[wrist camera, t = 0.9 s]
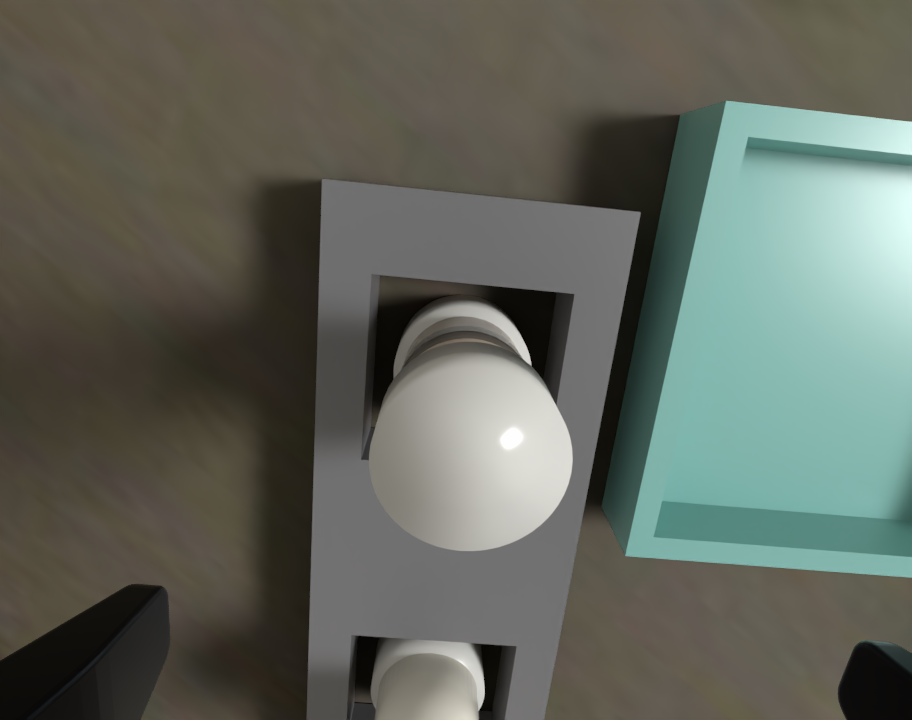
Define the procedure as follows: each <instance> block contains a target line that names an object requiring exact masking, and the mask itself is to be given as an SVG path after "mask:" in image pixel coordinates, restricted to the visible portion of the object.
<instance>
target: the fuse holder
mask: <svg viewBox="0 0 912 720" xmlns="http://www.w3.org/2000/svg"><path fill="white" fill-rule="evenodd" d="M640 215H641V212H636V211H629V210H621V209H614V208H604V207H595V206H585V205H575V204H566V203H556V202H547V201H537V200H528V199H518V198H508V197H499V196H489V195H480V194H470V193H461V192H451V191H442V190H432V189H422V188H413V187H403V186H394V185H384V184H375V183H365V182H355V181H346V180H334V179H322V195H321V230H320V265H319V300H318V335H317V370H316V406H315V441H314V476H313V511H312V546H311V581H310V616H309V651H308V686H307V720H375V713H376V709H375V707H374V705H373V704H364V703H354V697H355V681H356V664H357V648H358V636H372V637H387V638H402V639H417V640H431V641H446V642H461V643H476V644H491V645H502V649H501V655H500V662H499V668H498V674H497V681H496V687H495V694H494V700H493V707H492V711H478V713H479V720H544V717H545V712H546V706H547V701H548V696H549V691H550V685H551V680H552V675H553V670H554V665H555V659H556V654H557V649H558V644H559V638H560V633H561V628H562V623H563V617H564V612H565V607H566V602H567V597H568V591H569V586H570V581H571V576H572V570H573V565H574V560H575V555H576V549H577V544H578V539H579V534H580V529H581V523H582V518H583V513H584V508H585V502H586V497H587V492H588V487H589V481H590V476H591V471H592V466H593V460H594V455H595V450H596V445H597V440H598V434H599V429H600V424H601V419H602V413H603V408H604V403H605V398H606V392H607V387H608V382H609V377H610V372H611V366H612V361H613V356H614V351H615V345H616V340H617V335H618V330H619V324H620V319H621V314H622V309H623V304H624V298H625V293H626V288H627V283H628V277H629V272H630V267H631V262H632V256H633V251H634V246H635V241H636V236H637V230H638V225H639V220H640ZM380 275H385V276H395V277H405V278H416V279H426V280H436V281H447V282H457V283H467V284H477V285H488V286H498V287H508V288H519V289H529V290H539V291H550V292H557V293H556V299H555V306H554V312H553V319H552V325H551V332H550V338H549V344H548V351H547V357H546V364H545V370H544V377H543V381H544V382H545V384H546V386H547V388H548V390H549V392H550V394H551V396H552V398H553V400H554V402H555V404H556V406H557V408H558V410H559V412H560V414H561V416H562V418H563V420H564V422H565V424H566V426H567V429H568V432H569V435H570V439H571V445H572V455H573V463H572V472H571V476H570V480H569V484H568V487H567V489H566V491H565V494H564V496H563V498H562V500H561V501H560V503H559V505H558V506H557V508H556V509H555V510H554V512H553V513H552V514H551V515H550V516H549V517H548V518H547V519H546V520H545V521H544V522H543V524H541V525H540V526H539V527H538V528H536V529H535V530H534V531H533V532H531V533H529V534H528V535H526V536H524V537H523V538H521V539H519V540H517V541H515V542H512V543H510V544H507V545H504V546H501V547H498V548H493V549H488V550H481V551H457V550H449V549H445V548H441V547H437V546H434V545H431V544H429V543H426V542H424V541H422V540H420V539H418V538H416V537H414V536H412V535H411V534H409V533H408V532H406V531H405V530H404V529H402V528H401V527H400V526H399V525H398V524H397V523H396V522H394V520H393V519H392V518H391V517H390V516H389V515H388V514H387V512H386V511H385V509H384V508H383V506H382V505H381V503H380V502H379V500H378V497H377V495H376V493H375V491H374V488H373V485H372V481H371V477H370V470H369V452H370V444H371V441H372V437H373V434H374V430H375V428H371V416H372V400H373V383H374V367H375V350H376V334H377V317H378V300H379V284H380Z"/></svg>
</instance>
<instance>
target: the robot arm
mask: <svg viewBox="0 0 912 720" xmlns="http://www.w3.org/2000/svg"><path fill="white" fill-rule="evenodd" d="M169 645H170V624H169V604H168V594H167V591H166V589H165V588H164V587H162V586H157V585H144V584H131V585H128V586H126V587H124V588H122V589H121V590H119V591H117V592H116V593H114V594H112V595H111V596H109V597H107V598H106V599H104V600H102V601H100V602H99V603H97V604H95V605H94V606H92V607H90V608H89V609H87V610H85V611H84V612H82V613H80V614H78V615H77V616H75V617H73V618H72V619H70V620H68V621H67V622H65V623H63V624H62V625H60V626H58V627H56V628H55V629H53V630H51V631H50V632H48V633H46V634H45V635H43V636H41V637H40V638H38V639H36V640H34V641H33V642H31V643H29V644H28V645H26V646H24V647H23V648H21V649H19V650H17V651H16V652H14V653H12V654H11V655H9V656H7V657H6V658H4V659H2V660H1V661H0V720H141V717H142V715H143V713H144V710H145V708H146V706H147V703H148V701H149V698H150V696H151V694H152V691H153V689H154V687H155V684H156V682H157V679H158V677H159V675H160V672H161V670H162V667H163V665H164V663H165V660H166V657H167V654H168V650H169ZM838 699H839V703H840V707H841V709H842V712H843V714H844V716H845V718H846V720H912V653H910V652H908V651H907V650H905V649H903V648H902V647H900V646H898V645H896V644H893V643H888V642H877V641H862V642H859V643H858V644H857V645H856V646H855V647H854V649H853V651H852V654H851V656H850V659H849V661H848V664H847V666H846V669H845V671H844V674H843V676H842V679H841V681H840V684H839V687H838Z"/></svg>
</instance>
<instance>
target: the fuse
mask: <svg viewBox="0 0 912 720" xmlns="http://www.w3.org/2000/svg"><path fill="white" fill-rule="evenodd" d="M484 696H485V686H484V673H483V660H482V648H481V644H476V643H461V642H446V641H431V640H417V639H402V638H387V637H379V640H378V644H377V650H376V657H375V664H374V670H373V677H372V684H371V699H372V702H373V705H374V707H375V709H376V713H375V720H479V713H478V711H479V710H480V708H481V706H482V703H483V700H484Z"/></svg>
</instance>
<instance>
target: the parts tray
mask: <svg viewBox="0 0 912 720" xmlns="http://www.w3.org/2000/svg"><path fill="white" fill-rule="evenodd" d="M602 509H603V511H604V513H605V515H606V517H607V519H608V522H609V524H610V526H611V528H612V530H613V532H614V534H615V536H616V538H617V540H618V542H619V544H620V546H621V548H622V550H623V552H624V554H625V556H632V557H646V558H659V559H672V560H685V561H699V562H712V563H725V564H738V565H752V566H765V567H778V568H792V569H805V570H818V571H831V572H845V573H858V574H871V575H885V576H898V577H911V578H912V122H907V121H898V120H890V119H881V118H872V117H863V116H855V115H846V114H837V113H829V112H820V111H811V110H802V109H794V108H785V107H776V106H768V105H759V104H750V103H741V102H733V101H724V102H720V103H717V104H714V105H710V106H707V107H704V108H701V109H697V110H694V111H691V112H687V113H684V114H681V115H680V119H679V124H678V129H677V134H676V139H675V144H674V149H673V154H672V159H671V164H670V169H669V174H668V178H667V183H666V188H665V193H664V198H663V203H662V208H661V213H660V218H659V223H658V228H657V233H656V238H655V243H654V248H653V253H652V258H651V263H650V268H649V273H648V278H647V283H646V288H645V293H644V298H643V303H642V308H641V313H640V318H639V323H638V328H637V333H636V338H635V342H634V347H633V352H632V357H631V362H630V367H629V372H628V377H627V382H626V387H625V392H624V397H623V402H622V407H621V412H620V417H619V422H618V427H617V432H616V437H615V442H614V447H613V452H612V457H611V462H610V467H609V472H608V477H607V482H606V487H605V492H604V497H603V502H602Z"/></svg>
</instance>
